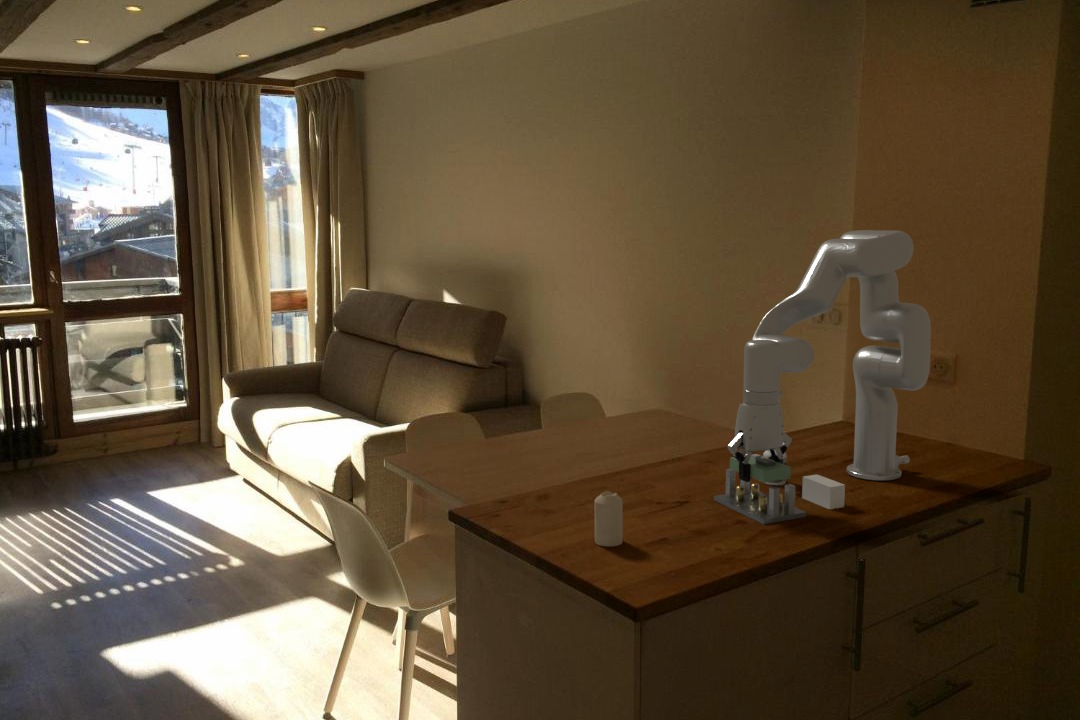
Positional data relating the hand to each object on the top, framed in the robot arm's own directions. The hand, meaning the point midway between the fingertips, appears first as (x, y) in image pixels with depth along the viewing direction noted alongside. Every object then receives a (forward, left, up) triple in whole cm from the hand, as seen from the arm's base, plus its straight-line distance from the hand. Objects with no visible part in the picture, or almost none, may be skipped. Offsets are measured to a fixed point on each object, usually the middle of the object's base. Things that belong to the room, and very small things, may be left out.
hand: (759, 477), depth 195 cm
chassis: (0, 0, -7) cm, 7 cm away
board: (0, 0, +1) cm, 1 cm away
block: (-15, +3, -7) cm, 17 cm away
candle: (+39, +4, -7) cm, 40 cm away
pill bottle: (-15, -14, -7) cm, 22 cm away
